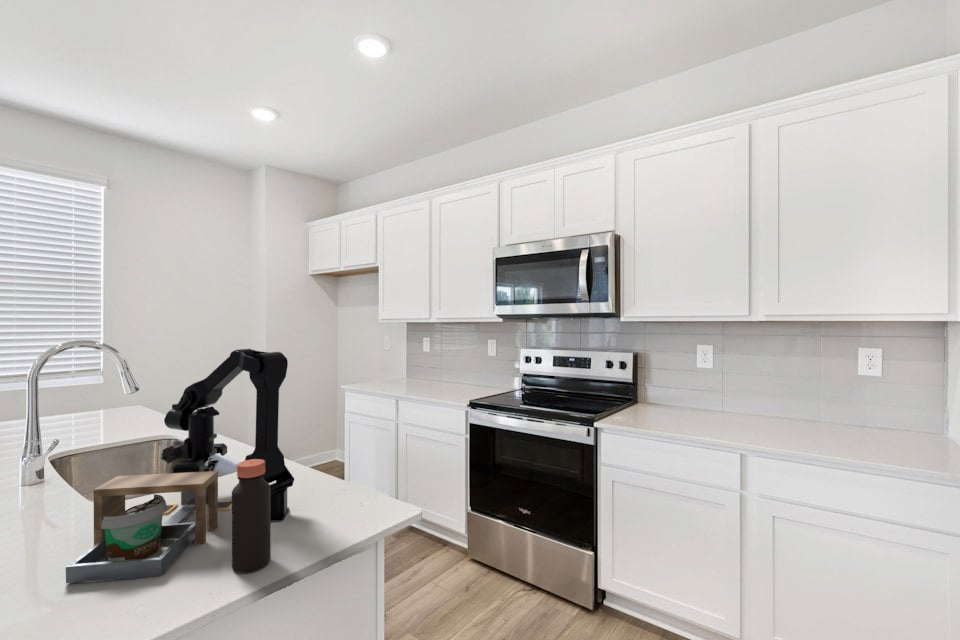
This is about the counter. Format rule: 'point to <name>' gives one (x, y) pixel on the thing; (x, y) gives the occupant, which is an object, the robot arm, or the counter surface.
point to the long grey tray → (93, 570)
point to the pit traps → (221, 506)
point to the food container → (135, 531)
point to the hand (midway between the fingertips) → (202, 491)
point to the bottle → (251, 518)
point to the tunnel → (113, 492)
